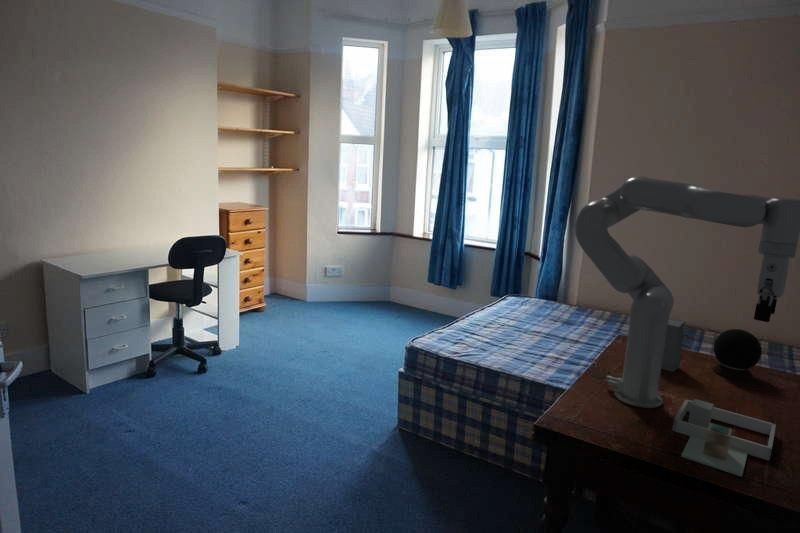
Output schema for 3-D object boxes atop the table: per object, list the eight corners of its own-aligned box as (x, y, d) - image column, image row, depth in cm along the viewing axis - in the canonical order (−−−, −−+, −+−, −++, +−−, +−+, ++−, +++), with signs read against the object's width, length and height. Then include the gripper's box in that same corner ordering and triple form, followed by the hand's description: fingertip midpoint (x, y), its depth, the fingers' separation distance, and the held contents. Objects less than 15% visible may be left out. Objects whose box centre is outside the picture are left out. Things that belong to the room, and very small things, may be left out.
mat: (681, 456, 126) (681, 454, 126) (690, 436, 135) (691, 434, 135) (741, 476, 119) (742, 474, 119) (747, 454, 128) (747, 452, 128)
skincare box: (679, 367, 181) (687, 322, 177) (673, 373, 175) (680, 326, 172) (652, 360, 186) (659, 315, 183) (645, 365, 181) (652, 320, 178)
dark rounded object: (756, 373, 179) (765, 329, 176) (756, 386, 169) (765, 340, 166) (711, 363, 187) (718, 321, 183) (707, 375, 176) (715, 330, 173)
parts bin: (672, 430, 138) (673, 419, 137) (684, 409, 150) (685, 399, 150) (769, 460, 126) (771, 449, 125) (773, 435, 138) (775, 424, 138)
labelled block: (702, 453, 126) (707, 428, 125) (706, 445, 130) (710, 421, 129) (725, 460, 124) (729, 435, 123) (727, 452, 127) (732, 428, 126)
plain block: (687, 426, 141) (691, 404, 140) (690, 419, 144) (694, 398, 143) (707, 432, 138) (711, 410, 137) (709, 425, 142) (713, 404, 140)
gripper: (792, 255, 124) (778, 327, 128) (799, 247, 137) (785, 313, 141) (753, 250, 129) (741, 320, 132) (763, 243, 142) (751, 307, 145)
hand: (764, 316), depth 137 cm, fingers open, 9 cm apart
